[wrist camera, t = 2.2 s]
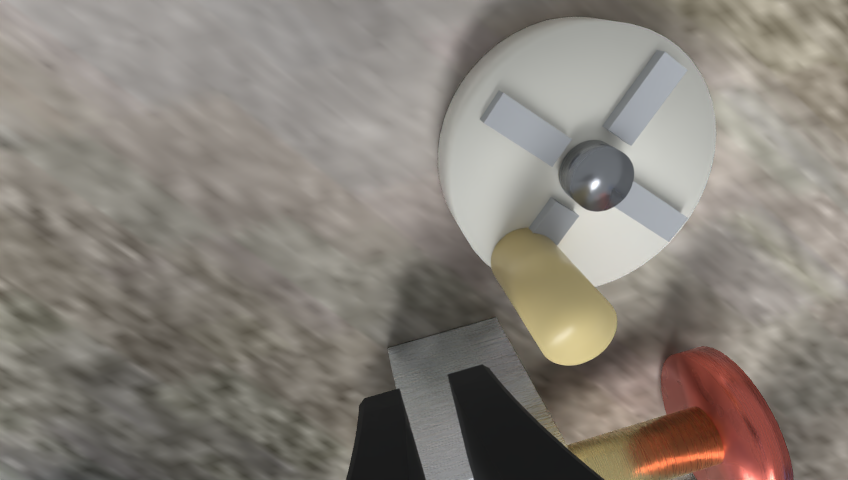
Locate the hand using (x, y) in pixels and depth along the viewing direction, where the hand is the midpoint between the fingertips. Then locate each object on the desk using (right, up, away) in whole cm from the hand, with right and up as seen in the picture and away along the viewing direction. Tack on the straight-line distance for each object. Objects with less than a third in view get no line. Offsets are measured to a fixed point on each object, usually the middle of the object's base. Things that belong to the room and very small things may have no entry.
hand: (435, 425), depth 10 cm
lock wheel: (+4, +6, +9) cm, 11 cm away
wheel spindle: (+4, +5, +7) cm, 10 cm away
